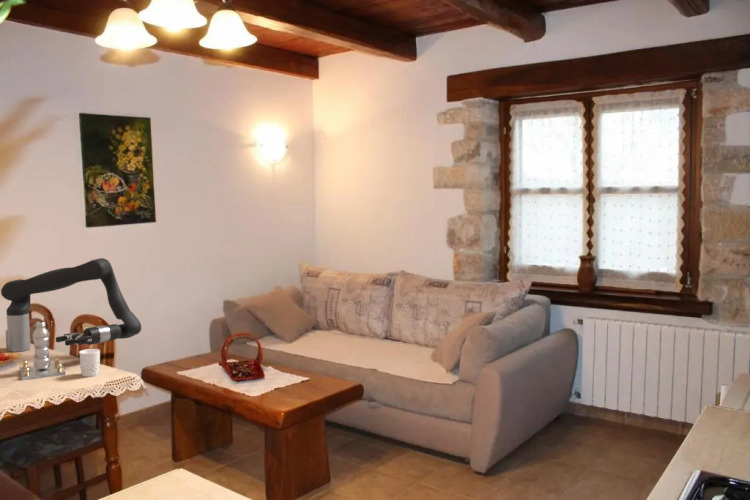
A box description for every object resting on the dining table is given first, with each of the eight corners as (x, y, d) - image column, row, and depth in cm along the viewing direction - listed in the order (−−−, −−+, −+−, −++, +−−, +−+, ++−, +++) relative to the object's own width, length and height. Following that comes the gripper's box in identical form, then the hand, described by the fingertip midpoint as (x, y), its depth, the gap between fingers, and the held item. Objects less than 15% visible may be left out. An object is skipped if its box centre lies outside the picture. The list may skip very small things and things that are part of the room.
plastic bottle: (36, 372, 271) (34, 324, 269) (32, 368, 276) (30, 321, 274) (52, 369, 275) (51, 322, 273) (48, 365, 280) (46, 319, 278)
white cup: (91, 378, 268) (91, 354, 267) (75, 376, 270) (74, 352, 269) (104, 372, 275) (104, 349, 274) (88, 371, 278) (88, 348, 276)
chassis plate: (19, 370, 277) (19, 360, 277) (61, 365, 286) (60, 355, 285) (21, 380, 264) (21, 370, 263) (65, 374, 272) (65, 364, 272)
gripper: (88, 324, 296) (52, 330, 284) (105, 329, 288) (68, 335, 275) (89, 340, 297) (53, 347, 285) (105, 345, 288) (69, 353, 276)
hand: (60, 341), depth 280 cm, fingers open, 8 cm apart
